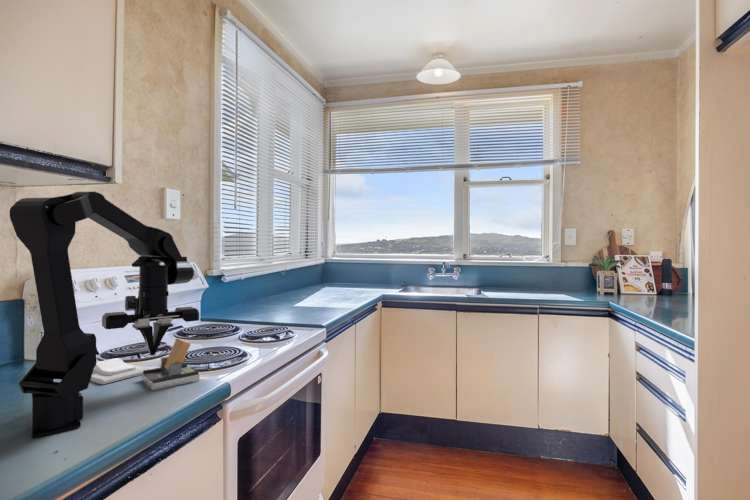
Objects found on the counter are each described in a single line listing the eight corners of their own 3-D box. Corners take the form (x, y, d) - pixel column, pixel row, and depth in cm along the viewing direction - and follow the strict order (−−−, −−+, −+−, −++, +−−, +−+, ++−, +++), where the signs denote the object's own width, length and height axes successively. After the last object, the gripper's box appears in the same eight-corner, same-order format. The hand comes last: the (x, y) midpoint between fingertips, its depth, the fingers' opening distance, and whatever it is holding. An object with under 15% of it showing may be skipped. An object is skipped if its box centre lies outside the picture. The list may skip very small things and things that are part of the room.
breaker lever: (169, 374, 90) (183, 341, 93) (162, 368, 94) (176, 337, 96) (176, 375, 92) (190, 343, 94) (170, 370, 95) (183, 339, 97)
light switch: (123, 353, 105) (150, 358, 99) (123, 369, 105) (151, 375, 99) (76, 363, 96) (102, 369, 89) (76, 380, 96) (103, 387, 89)
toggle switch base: (151, 390, 86) (152, 369, 86) (141, 380, 93) (142, 360, 93) (199, 380, 93) (199, 360, 93) (186, 371, 100) (186, 352, 100)
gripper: (185, 282, 103) (184, 342, 102) (98, 285, 90) (97, 354, 90) (200, 285, 94) (199, 351, 94) (107, 289, 82) (105, 365, 82)
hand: (152, 354), depth 90 cm, fingers closed
